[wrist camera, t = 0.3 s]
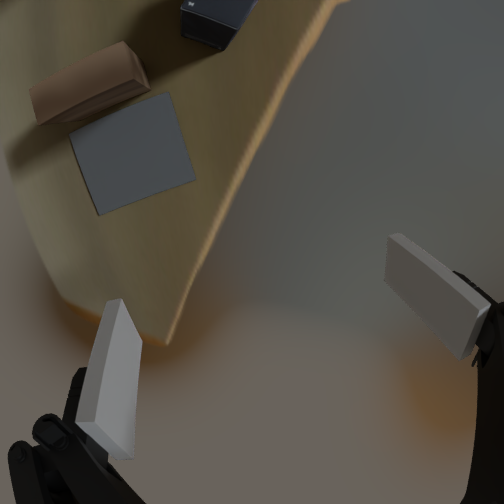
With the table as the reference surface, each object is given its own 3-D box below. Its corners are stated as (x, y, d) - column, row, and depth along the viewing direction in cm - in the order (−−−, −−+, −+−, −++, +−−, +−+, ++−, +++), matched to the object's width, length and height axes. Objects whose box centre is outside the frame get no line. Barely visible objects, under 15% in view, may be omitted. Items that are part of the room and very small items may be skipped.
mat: (69, 133, 31) (68, 133, 31) (168, 91, 32) (168, 91, 32) (100, 214, 37) (99, 215, 37) (196, 179, 38) (196, 179, 37)
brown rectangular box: (72, 93, 29) (28, 88, 18) (143, 62, 30) (122, 40, 19) (80, 120, 31) (38, 125, 20) (151, 90, 31) (133, 78, 21)
